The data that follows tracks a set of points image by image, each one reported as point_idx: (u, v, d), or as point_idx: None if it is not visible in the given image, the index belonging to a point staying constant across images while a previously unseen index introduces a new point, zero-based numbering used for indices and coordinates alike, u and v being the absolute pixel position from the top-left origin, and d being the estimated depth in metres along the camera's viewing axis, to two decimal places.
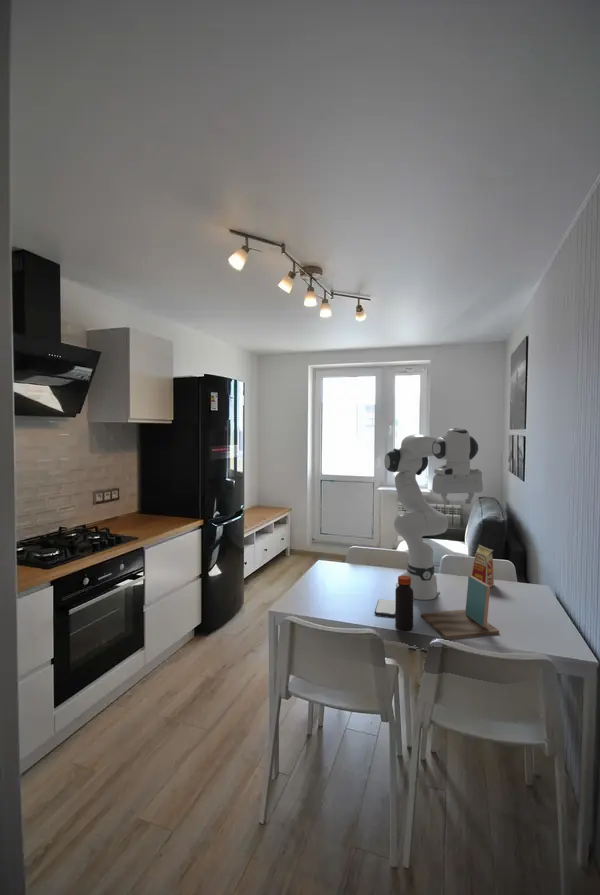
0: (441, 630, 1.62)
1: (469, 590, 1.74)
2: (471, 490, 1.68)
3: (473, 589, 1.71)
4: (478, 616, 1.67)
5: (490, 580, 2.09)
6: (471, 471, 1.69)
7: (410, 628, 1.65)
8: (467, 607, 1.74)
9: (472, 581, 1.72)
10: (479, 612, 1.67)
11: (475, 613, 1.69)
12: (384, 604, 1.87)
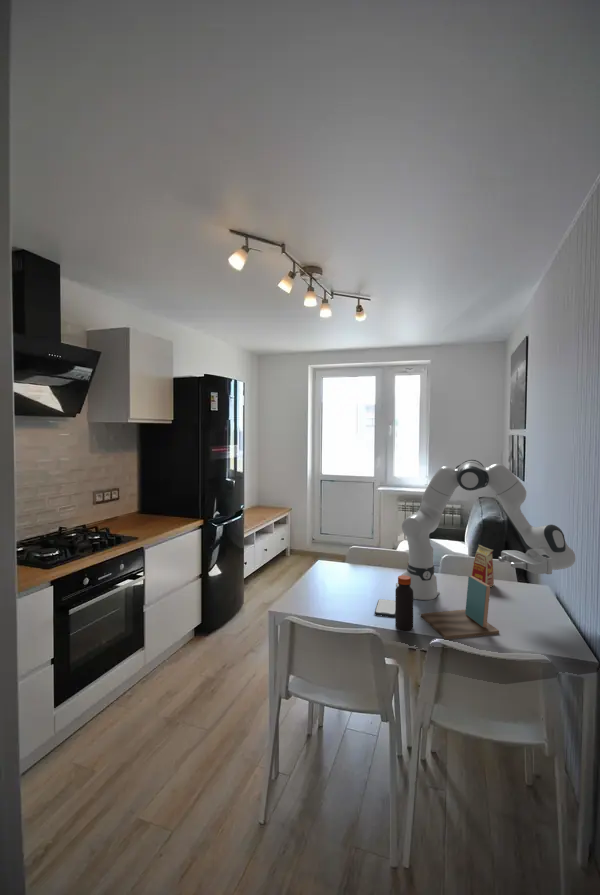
0: (441, 630, 1.62)
1: (469, 590, 1.74)
2: None
3: (473, 589, 1.71)
4: (478, 616, 1.67)
5: (490, 580, 2.09)
6: None
7: (410, 628, 1.65)
8: (467, 607, 1.74)
9: (472, 581, 1.72)
10: (479, 612, 1.67)
11: (475, 613, 1.69)
12: (384, 604, 1.88)
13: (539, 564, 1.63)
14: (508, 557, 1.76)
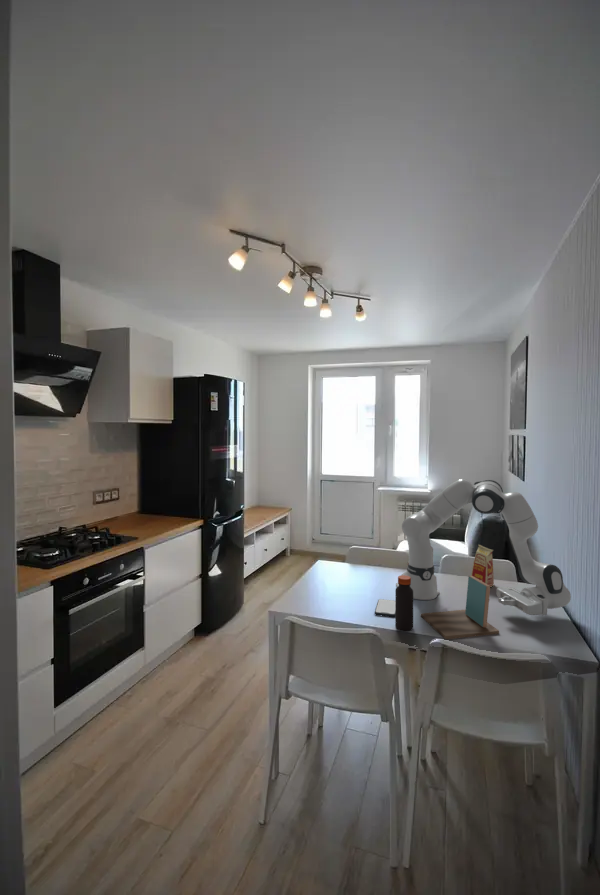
0: (441, 630, 1.62)
1: (469, 590, 1.74)
2: None
3: (473, 589, 1.71)
4: (478, 616, 1.67)
5: (490, 580, 2.09)
6: None
7: (410, 628, 1.65)
8: (467, 607, 1.74)
9: (472, 581, 1.72)
10: (479, 612, 1.67)
11: (475, 613, 1.69)
12: (384, 604, 1.88)
13: (534, 606, 1.63)
14: (508, 598, 1.74)
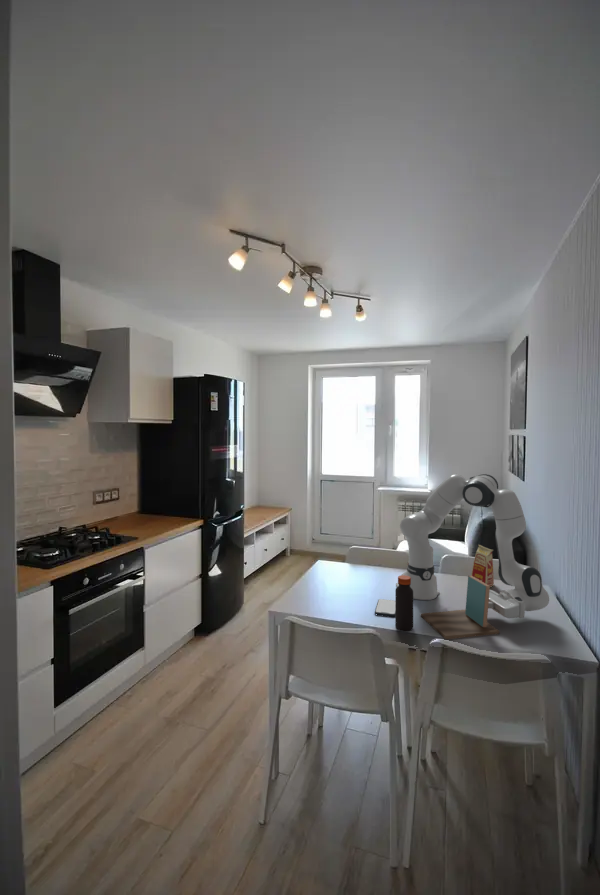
0: (441, 630, 1.62)
1: (469, 590, 1.74)
2: None
3: (473, 589, 1.71)
4: (478, 616, 1.67)
5: (490, 580, 2.09)
6: None
7: (410, 628, 1.65)
8: (467, 607, 1.74)
9: (472, 581, 1.72)
10: (479, 612, 1.66)
11: (475, 613, 1.69)
12: (384, 604, 1.88)
13: (511, 608, 1.62)
14: None
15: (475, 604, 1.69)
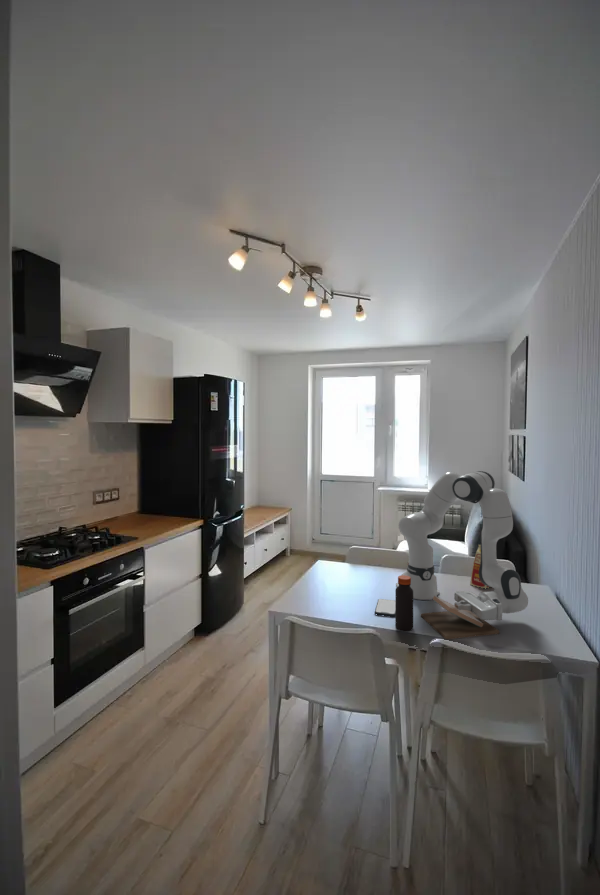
0: (441, 630, 1.62)
1: None
2: None
3: None
4: None
5: None
6: None
7: (410, 628, 1.65)
8: None
9: (438, 603, 1.70)
10: None
11: None
12: (384, 604, 1.88)
13: (488, 610, 1.60)
14: (464, 603, 1.70)
15: None
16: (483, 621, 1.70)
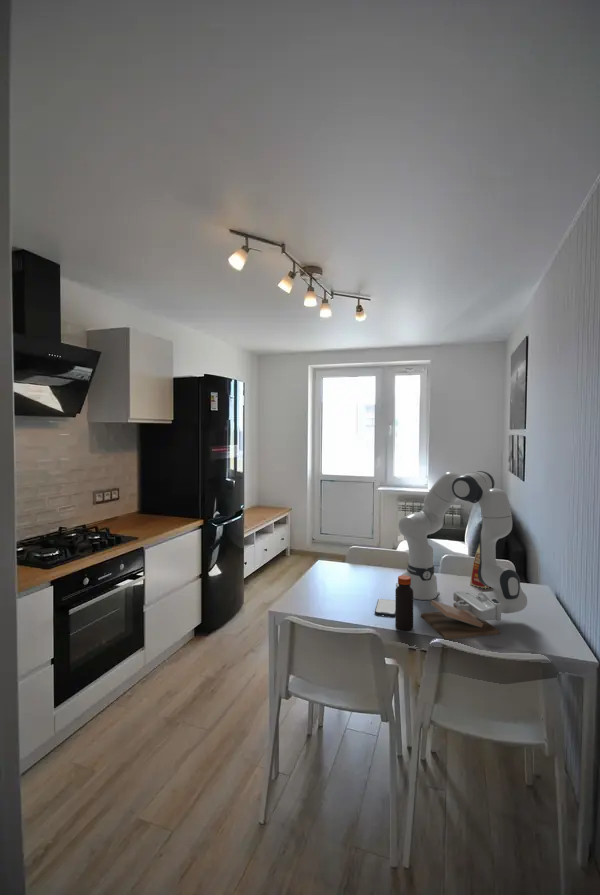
0: (441, 630, 1.62)
1: None
2: None
3: None
4: None
5: None
6: None
7: (410, 628, 1.65)
8: None
9: None
10: None
11: None
12: (384, 604, 1.88)
13: (487, 611, 1.60)
14: (463, 603, 1.70)
15: None
16: (483, 621, 1.70)
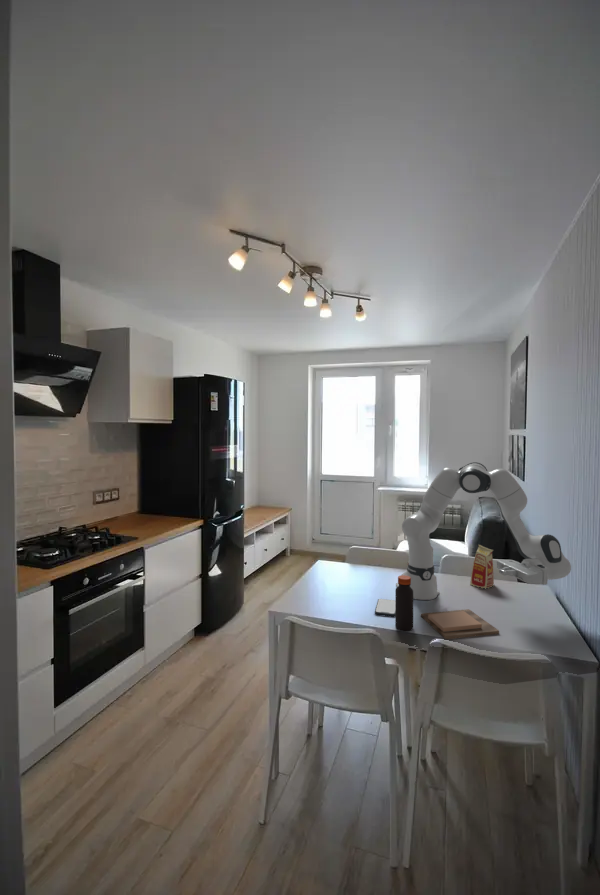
0: (441, 630, 1.62)
1: None
2: None
3: None
4: None
5: (490, 580, 2.09)
6: None
7: (410, 628, 1.65)
8: None
9: None
10: None
11: None
12: (384, 604, 1.88)
13: (534, 574, 1.63)
14: (509, 569, 1.73)
15: None
16: (483, 621, 1.70)
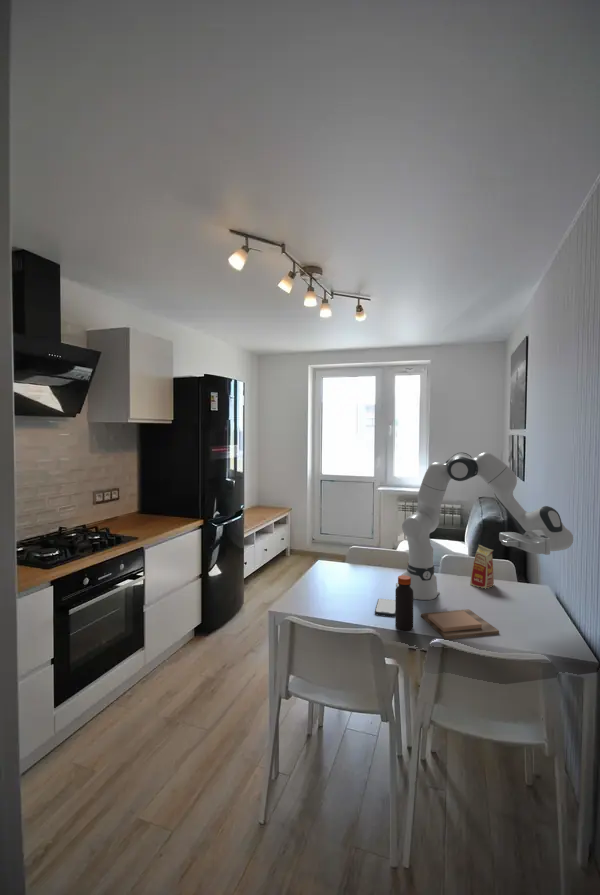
0: (441, 630, 1.62)
1: None
2: None
3: None
4: None
5: (490, 580, 2.09)
6: None
7: (410, 628, 1.65)
8: None
9: None
10: None
11: None
12: (384, 603, 1.88)
13: (537, 544, 1.63)
14: (511, 540, 1.73)
15: None
16: (483, 621, 1.70)
